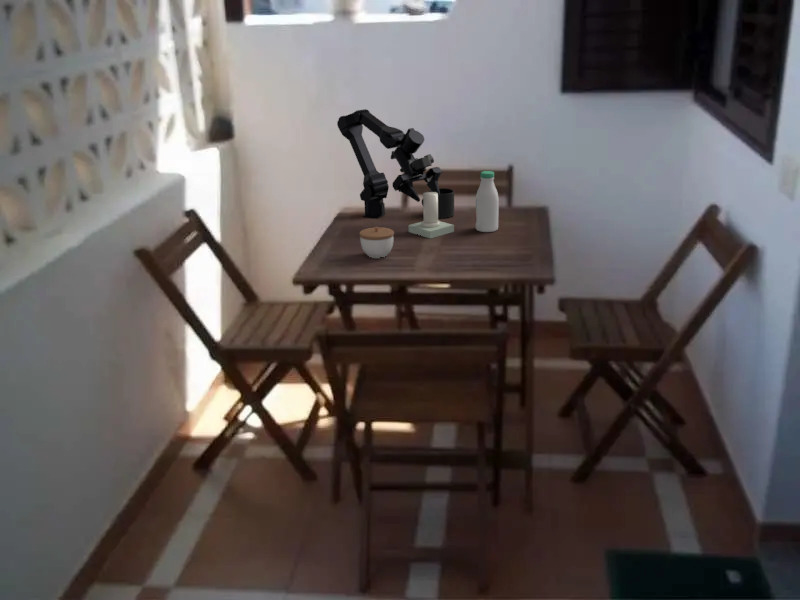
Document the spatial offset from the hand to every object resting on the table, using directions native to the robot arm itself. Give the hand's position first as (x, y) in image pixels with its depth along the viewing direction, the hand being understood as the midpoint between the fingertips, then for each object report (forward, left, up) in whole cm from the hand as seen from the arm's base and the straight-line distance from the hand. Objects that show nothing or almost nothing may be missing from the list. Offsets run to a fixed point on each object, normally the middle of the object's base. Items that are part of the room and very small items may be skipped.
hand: (429, 198), depth 295 cm
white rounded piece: (+1, 0, -9) cm, 9 cm away
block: (+1, 0, -12) cm, 12 cm away
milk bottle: (+18, +9, -12) cm, 23 cm away
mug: (-5, +21, -12) cm, 24 cm away
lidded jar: (-5, -30, -12) cm, 33 cm away
